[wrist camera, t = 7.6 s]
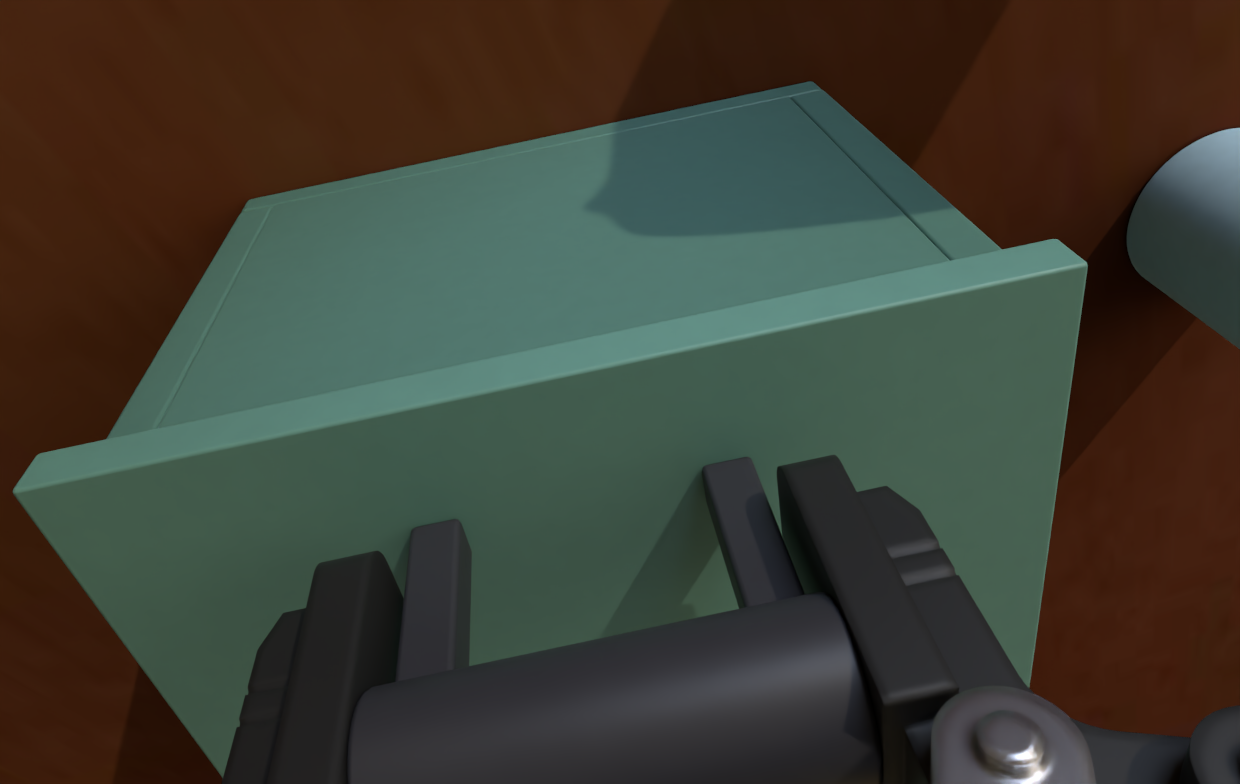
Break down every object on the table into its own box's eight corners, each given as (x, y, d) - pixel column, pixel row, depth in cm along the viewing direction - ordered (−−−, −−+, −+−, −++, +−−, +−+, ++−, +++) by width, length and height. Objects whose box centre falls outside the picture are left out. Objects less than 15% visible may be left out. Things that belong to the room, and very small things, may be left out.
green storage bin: (246, 198, 21) (69, 495, 12) (813, 79, 21) (1048, 288, 12) (444, 654, 30) (425, 1011, 22) (836, 570, 31) (979, 892, 22)
